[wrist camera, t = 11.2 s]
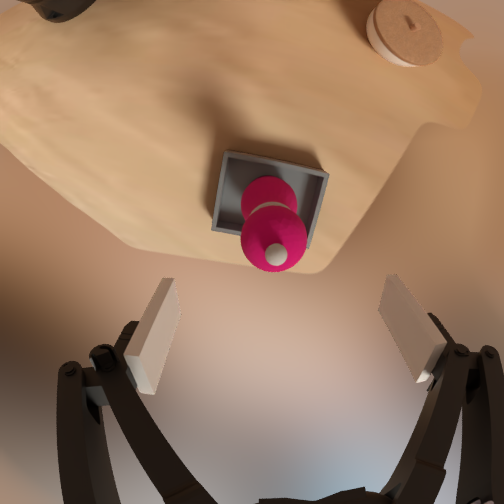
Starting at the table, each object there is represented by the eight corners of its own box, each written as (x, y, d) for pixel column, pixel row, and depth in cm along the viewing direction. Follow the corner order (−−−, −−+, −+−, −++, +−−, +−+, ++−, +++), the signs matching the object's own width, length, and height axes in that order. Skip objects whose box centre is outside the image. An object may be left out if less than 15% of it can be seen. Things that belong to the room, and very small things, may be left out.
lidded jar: (342, 35, 30) (364, 14, 21) (380, 2, 26) (405, -19, 18) (394, 85, 33) (427, 78, 24) (427, 49, 29) (460, 39, 20)
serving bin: (214, 222, 42) (211, 230, 39) (226, 149, 38) (224, 151, 35) (305, 239, 43) (308, 248, 40) (323, 170, 39) (329, 174, 35)
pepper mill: (270, 161, 38) (282, 194, 20) (303, 199, 40) (340, 262, 22) (231, 194, 40) (210, 255, 22) (265, 230, 42) (271, 313, 24)
